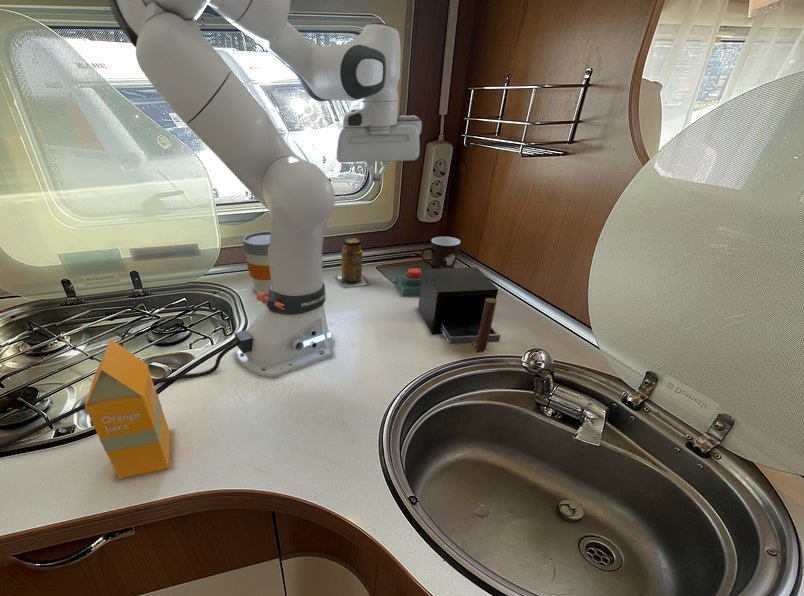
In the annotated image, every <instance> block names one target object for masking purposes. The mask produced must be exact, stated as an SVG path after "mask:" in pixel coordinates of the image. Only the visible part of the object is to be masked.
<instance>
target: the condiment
mask: <svg viewBox="0 0 804 596" xmlns="http://www.w3.org/2000/svg"><path fill="white" fill-rule="evenodd" d="M362 273H363V250H362V241H361V240H360V239H359V238H356V237H349V238H345V239H344V240H343V241H342V249H341V275H337V276H336V277H337V279H338V280H339V282H340V283H341V285H342V287H346V288H347V287H358V286H367V285H368V283H367V282H366V281H365V280H364V278H363V277H362Z"/></svg>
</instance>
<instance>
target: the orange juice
mask: <svg viewBox="0 0 804 596" xmlns="http://www.w3.org/2000/svg"><path fill="white" fill-rule="evenodd" d="M85 403H86V405H85V411H86V412H87V415H88V417H89V419H90V422H91V423H92V425H93V427H94V429H95V431H96V434H97V436H98V438H99V441H100V443H101V445H102V448H103V449H104V451H105V452H106V455H107V457H108V460H109V462H110V463H111V465H112V467H113V469H114V472H115V474H116V476H117V478H118V480H121V479H125V478H129V477H135V476H139V475H144V474H148V473H154V472H157V471H162V470H167V469H169V468H170V447H171V446H170V444H171V442H170V441H171V432H170V431H171V430H170V428H169V426H168V422H167V420H166V417H165V414H164V411H163V407H162V403H161V401H160V398H159V394H158V392H157V390H156V387H155V384H153V378H152V375H151V372H150V369H149V364H147V363H146V362H144V361H143V360H142V359H140V358H139V357H137V356H136V355H135V354H133V353H132V352H130V351H129V350H128V349H126V348H125V347H123V346H122V345H121V344H119V343H118V342H116V341H115V340H113V339H112V338H110V337H109V338H108V342H107V345H106V348H105V350H104V353H103V356H102V357H101V360H100V362H99V365H98V366H97V369H96V372H94V375H93V379H92V382H91V385H90V389H89V392H88V395H87V399H86V402H85Z"/></svg>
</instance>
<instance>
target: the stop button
mask: <svg viewBox="0 0 804 596" xmlns="http://www.w3.org/2000/svg"><path fill="white" fill-rule="evenodd" d="M407 272H408V277H409V278H413V279H416V278H420V276H421V273H422V270H421V269H420V268H416V267H413V268H412V267H411V268H408V270H407Z"/></svg>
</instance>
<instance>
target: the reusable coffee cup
mask: <svg viewBox="0 0 804 596" xmlns="http://www.w3.org/2000/svg"><path fill="white" fill-rule="evenodd" d="M270 237H271V231H258V232H253V233H249V234H247V235H245V236H244V237H243V238H242V242H243V243H242V247H243V252H244V253H245V257H246V258H245V261H246V263H245V264H246V266H247V269H248V273H249V276H250V277H251V280H252V283H253V287H254V290H255V293H256V294H257V293H258V292H263V293H264V294H267V295H268V294H269V290H270V286H271V277H270V268H269V259H268V248H269V246H270Z"/></svg>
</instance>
